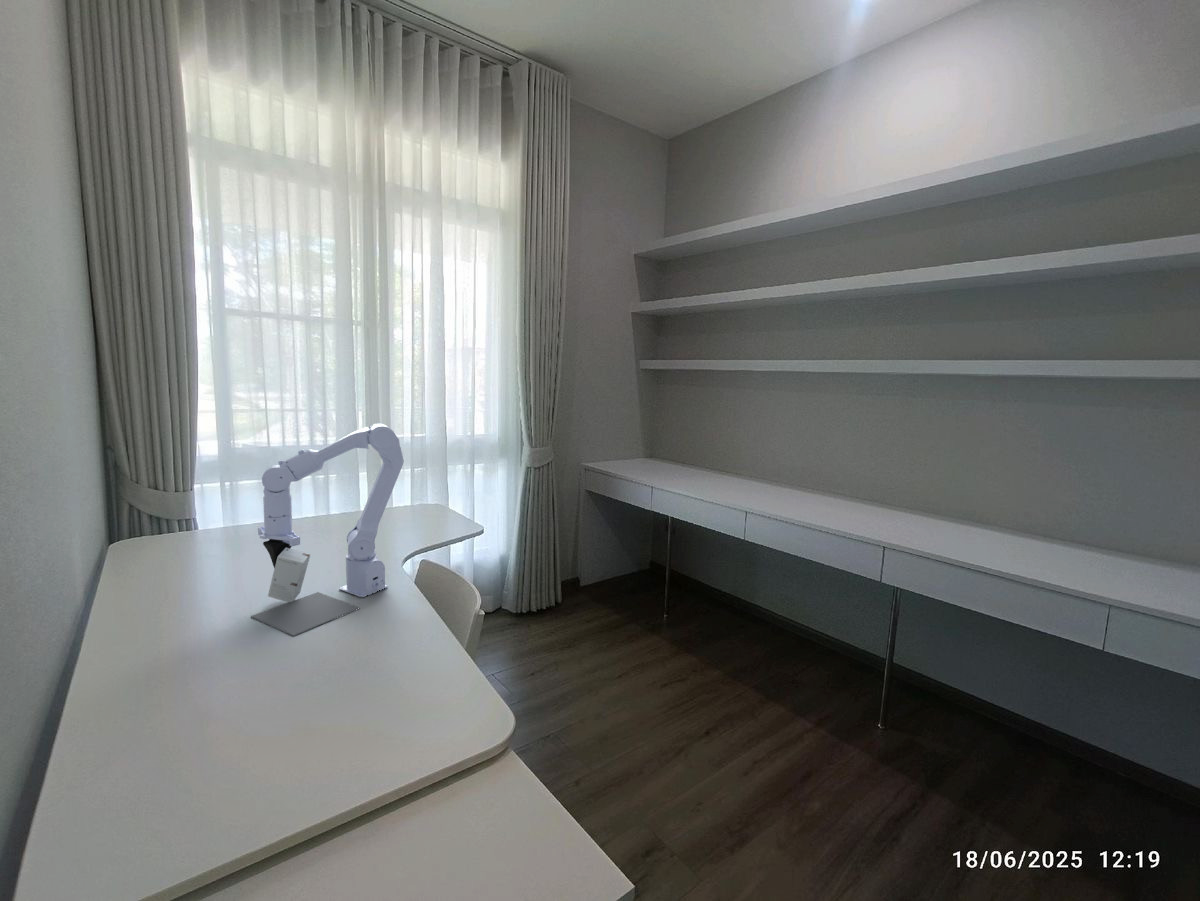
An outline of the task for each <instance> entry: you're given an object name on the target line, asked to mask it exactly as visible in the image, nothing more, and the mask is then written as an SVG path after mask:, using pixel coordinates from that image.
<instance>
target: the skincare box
mask: <svg viewBox="0 0 1200 901" xmlns="http://www.w3.org/2000/svg"><path fill="white" fill-rule="evenodd" d="M310 558H311V553H307V552H303V551H301V550H298V549H292V548H285V549H284V550H283V551H282V552H281V553H280V554H279V556H278V557H277V561H276V565H275V569H274V568H273V574H272V578H271V581H270V582H271V583H270V586H269V590H268V594H267V597H269V598H271V599H272V598H273V599H276V600H279V601H284V602H287V603H289V602H293V601H294V600H297V599H296V598H297V597H298V596H299V595H300V593H301V591H302V587H303V583H304V580H305V577H306V572H307V568H308V565H309V561H310Z"/></svg>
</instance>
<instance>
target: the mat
mask: <svg viewBox="0 0 1200 901" xmlns="http://www.w3.org/2000/svg"><path fill="white" fill-rule="evenodd" d="M358 608H360V606H356V605H354V604H351V603H349V602H346V601H343V600H340V599H337V598H335V597H333V596H330V595H327V594H324V593H321V592H319V591H317V592H314V593H311V594H308V595H306V596H304V597H299V598H298V599H295V600H294V601H293V602H287V603H284V604H281V605H278V606H275V607H273V608H269V609H267V610H264V611H261V612H258V613H256V614H252V615H251V616H250V618H251V619H252V618H253V619H255V620H256V621H259V622H262V623H263V624H265V625H267V626H270V627H271V628H274V629H276V630H278V631H280V632H283V633H285V634H287V635H290V636H292V637H296V636H299V635H300V634H304V633H305V632H308V631H310V630H313V629H315V628H317V627H320V626H321V624H322V625H324V623H325V624H327V623H329V622H331V621H330V620H332V621H334V620H336V619H338V618H337V617H339V618H341V617H343V616H342V615H344V616H345V614H346V615H348V614H351V613H353V612H355V611H354V610H356V609H358ZM358 610H359V609H358ZM352 611H353V612H352ZM356 611H357V610H356ZM350 612H351V613H350ZM347 613H348V614H347ZM340 616H341V617H340ZM335 618H336V619H335ZM333 619H334V620H333ZM328 621H329V622H328ZM326 622H327V623H326ZM319 625H320V626H319Z"/></svg>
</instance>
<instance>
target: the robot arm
mask: <svg viewBox="0 0 1200 901" xmlns="http://www.w3.org/2000/svg"><path fill="white" fill-rule="evenodd" d="M400 443H401V442H400V439H399V438H398V436H397V435H396V433H395V432H394V430H393V429H392V428H390V427H389V425H387V424H385V423H382V422H376V423H373V424H372V425H370V426H369V427H368V426H365V427H363V428H360V429H358V430H355V431H353V432H351V433H348V434H347V435H345V436H343V437H341V438H339V439H336V441H334V442H332V443H330V444H328V445H326V446H324V447H323V448H320V449H319V450H316V449H311V448H309V449H306V450H305V449H304V448H302V449H300V450H298V451H297V454H295V455H294V456H291V457H289V458H287V459H284V460H283V459H281V460H279V461H278V464H273V465H270V466H269V467H267V468H266V469H265V471H264V472H263V474H262V477H261V483H262V486H263V494H264V496H263V520H264V521H263V523H264V524H263V526H259V527H257V535H258V536H259V539H262V540H264V541H263V542H262V545H263V546H264V547H265V549H266V551H267V552H268V554H269V557H270V559H271V563H272V566H273V570H274V569H275V565H276V561H277V557H278V556H279V554H280V553H281V552H282V551H283V550H284V549H285V548H290V549H292V547H295V546H299V545H301V536H299V535H297V534H296V532H295V531H294V530H293V514H292V510H293V509H292V495H291V487H290V485H291V483H292V482H298V481H300V480H302V479H304V478H306V477H309V476H311V475H312V474H315V473H317V472H319V471H321V470H323V468H324V467H323V466H324V465H325V464H324V463H325V462H328V461H329V460H331V459H334V458H336V457H338V456H341V455H343V454H344V453H347V452H349V451H352V450H354V449H367V450H368V449H369V445H370V446H371V447H372V448H373V449H374V450H375V451H376V452H377V454H378V455H379V457H380V458H381V460H382V464H381V467H380V469H379V472H378V474H377V476H376V478H375V481H374V483H373V486H372V488H371V490H370V493H369V496H368V498H367V501H366V502H365V506H364V507H363V510H362V512H361V515H360V517H359V519H357V521H356V524H355V526H354V527H353V528H352V529H351V530H350V531H349V532H348V534H347V536H346V542H347V543H346V544H347V546H348V548H347V551H348V552H347V553H346V554H345V572H346V584H345V585H343V586H340V587H339V591H343V592H346V593H347V594H350V595H353V594H354V596H355V597H359V598H365V597H367V595H368V596H370V595H372V593H373V594H375V593H377V591H378V592H379V590H380V591H383V590H385V589H387V587H388V588H389V585H387V584H386V567H385V564H384V562H383V561H382V560H380V559H379V558H378V556H377V551H376V543H375V542H376V541H375V540H376V538H377V535H378V529H379V525H380V522H381V519H382V517H383V514H384V512H385V510H386V507H387V505H388V502H389V500H390V497H391V494H392V493H393V491H394V487H395V486H396V482H397V480H398V478H399V475H400V473H401V470H402V468H403V466H404V462H405V461H404V456H403V452H402V446H401V444H400ZM267 539H268V540H267ZM265 540H266V541H265ZM384 588H385V589H384ZM382 589H383V590H382Z"/></svg>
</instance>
